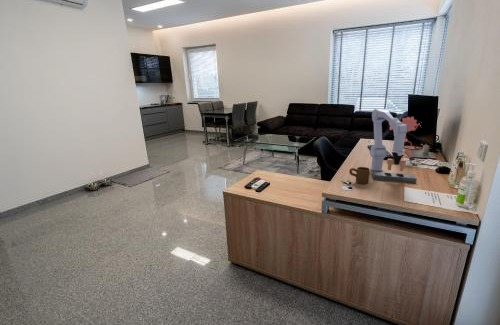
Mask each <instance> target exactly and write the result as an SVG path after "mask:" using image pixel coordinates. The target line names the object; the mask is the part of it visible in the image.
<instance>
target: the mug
mask: <svg viewBox="0 0 500 325" xmlns="http://www.w3.org/2000/svg"><path fill="white" fill-rule="evenodd" d="M370 171H371V168H369V167H365V166H357V168H354V167H352V168H349V171H348V172H349V174H350V176H353V177H355V182H356V183H357V184H359V185H367V184H369V181H370ZM354 172H355V173H354Z"/></svg>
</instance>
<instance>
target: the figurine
mask: <svg viewBox="0 0 500 325" xmlns="http://www.w3.org/2000/svg"><path fill="white" fill-rule="evenodd" d="M401 120H402V121H400V122H401V123H402V124H407V126H408V132H411V131H416V129H418V127H419V126H420V127H421V125H420V123H417V122H418V120H417V119H415V116H411V117H410V116H407V117H403V118H402V119H401ZM389 131H393V128H392V127H391V126H390V125H389ZM405 137H407V133H405ZM407 142H408V143H410V149H409V150H408V151H407V156H408V155H409V156H408V157H410V156H412V157H413V155H414V154H413V152H412V150H411V149H412V142H411V141H409V140H408V138H405V140H404V143H407Z"/></svg>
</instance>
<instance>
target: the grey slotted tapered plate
mask: <svg viewBox="0 0 500 325" xmlns="http://www.w3.org/2000/svg"><path fill="white" fill-rule="evenodd" d="M372 178H373V180H375V181H376V180H377V181H387V182H388V181H389V182H390V181H391V182H399V183H400V182H401V183H411V184H416V183H417V181H418V180H417V179H418V178H417V177H416V176H415V174H412V173H411V174H410V173H399V172H398V173H396V172H384V171H372Z"/></svg>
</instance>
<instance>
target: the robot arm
mask: <svg viewBox="0 0 500 325" xmlns="http://www.w3.org/2000/svg"><path fill="white" fill-rule="evenodd" d="M371 119H372V122H373V140H374V142H373V143H374V144H372V146H371V147H370V152H369V156H370V157H371V165H370V166H369V167H370V168H369V169H370V171H374V172H384V169H383V165H384V159H385V158H386V157H387V154H388V151H387V147H386V146H385V145H384V144H383V126H382V123H383V122H384V121H387V122H388V125H389V127H390V126H391V127H392V128H393V129H392V131H393V136H394V138H393V145H392V152H391V155H392V159H394V164H395V166H400V165H399V162H400V160H401V159H402V158H403V157H404V154H403V153H404V152H406V150H405V149H404V148H405V147H404V146H405V142H404V140H405V139H406V136H405V133H406V134H407V133H408V132H409V131H408V126H407V124H402V123H401V122H402V121H401V120H399V118H397V117H393V115H392V114H391V110H390V109H389V108H374V109H373V110H372V113H371Z"/></svg>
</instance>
